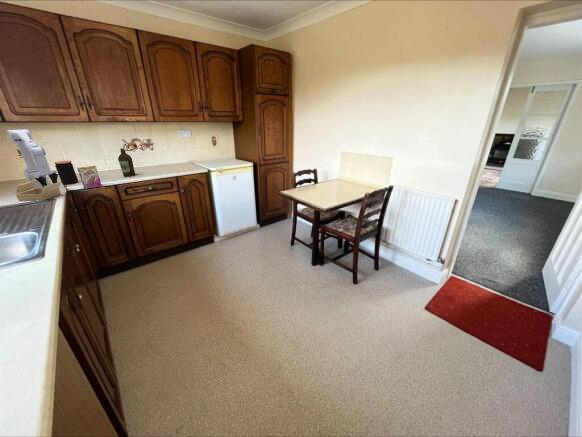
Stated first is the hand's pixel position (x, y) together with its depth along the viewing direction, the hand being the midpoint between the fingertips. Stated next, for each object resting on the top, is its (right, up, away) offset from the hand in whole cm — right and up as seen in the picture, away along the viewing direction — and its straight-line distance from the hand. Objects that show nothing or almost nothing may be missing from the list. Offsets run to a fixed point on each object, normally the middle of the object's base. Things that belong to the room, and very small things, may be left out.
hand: (50, 185), depth 165 cm
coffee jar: (-21, +7, +38) cm, 44 cm away
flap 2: (0, -1, 0) cm, 1 cm away
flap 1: (-16, -1, 0) cm, 16 cm away
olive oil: (+13, +17, +62) cm, 65 cm away
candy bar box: (+7, +2, +27) cm, 28 cm away
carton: (-10, -8, +3) cm, 13 cm away
